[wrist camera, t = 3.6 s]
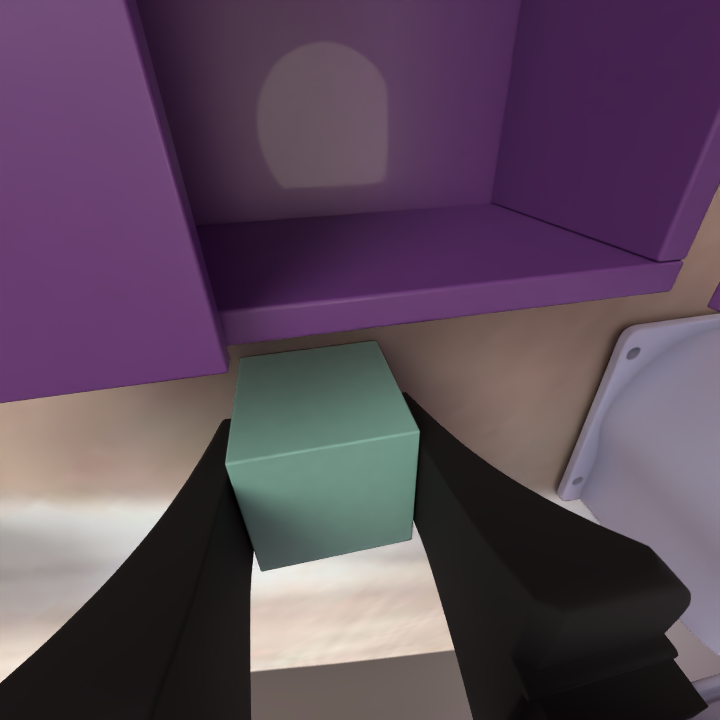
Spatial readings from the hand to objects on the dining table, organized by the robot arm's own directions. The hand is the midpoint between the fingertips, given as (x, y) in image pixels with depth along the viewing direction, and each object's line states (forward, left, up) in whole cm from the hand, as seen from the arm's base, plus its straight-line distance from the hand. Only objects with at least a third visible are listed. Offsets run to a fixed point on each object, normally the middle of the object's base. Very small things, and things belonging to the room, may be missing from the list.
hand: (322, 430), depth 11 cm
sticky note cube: (0, 0, -1) cm, 1 cm away
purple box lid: (+11, -5, +8) cm, 15 cm away
